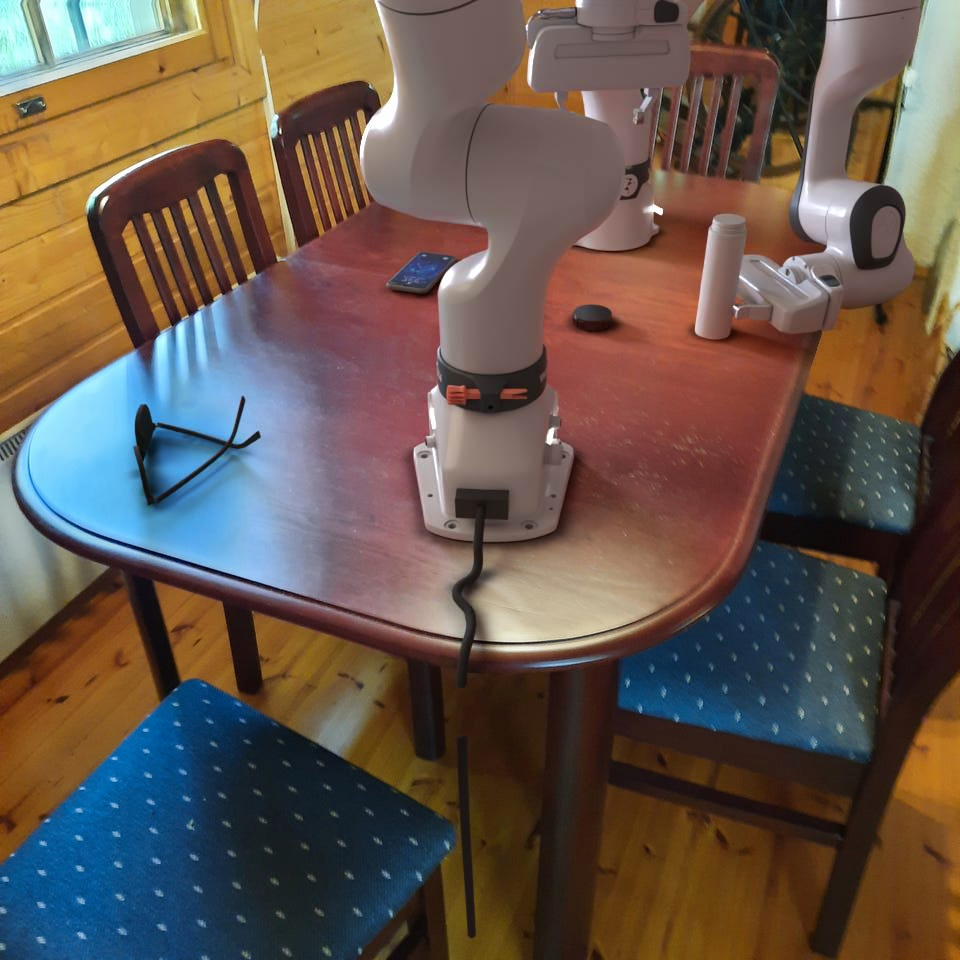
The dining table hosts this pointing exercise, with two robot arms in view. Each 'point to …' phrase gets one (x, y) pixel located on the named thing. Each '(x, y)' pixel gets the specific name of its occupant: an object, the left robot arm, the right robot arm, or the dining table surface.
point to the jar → (720, 276)
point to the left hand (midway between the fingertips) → (604, 125)
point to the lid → (592, 317)
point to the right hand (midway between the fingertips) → (718, 298)
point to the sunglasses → (147, 427)
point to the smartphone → (421, 272)
